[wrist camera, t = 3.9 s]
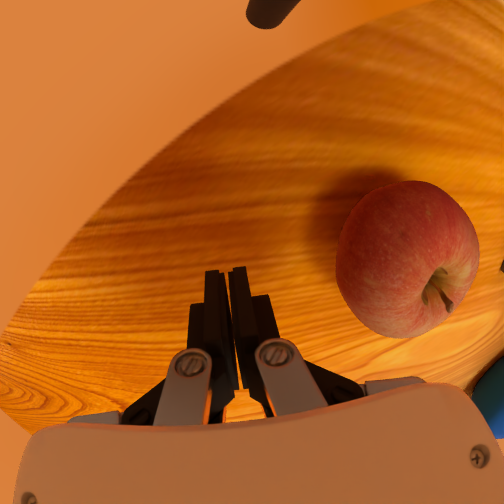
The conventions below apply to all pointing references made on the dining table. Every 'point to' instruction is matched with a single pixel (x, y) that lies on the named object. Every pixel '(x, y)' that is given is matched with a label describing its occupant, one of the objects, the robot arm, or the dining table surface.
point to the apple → (406, 258)
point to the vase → (492, 398)
